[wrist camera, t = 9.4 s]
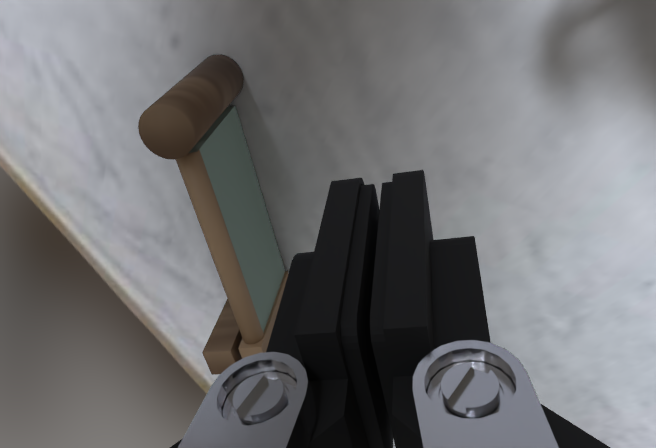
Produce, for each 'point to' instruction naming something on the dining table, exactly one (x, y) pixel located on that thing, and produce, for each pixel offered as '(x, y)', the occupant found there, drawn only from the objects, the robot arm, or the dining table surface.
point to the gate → (236, 228)
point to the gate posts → (177, 141)
